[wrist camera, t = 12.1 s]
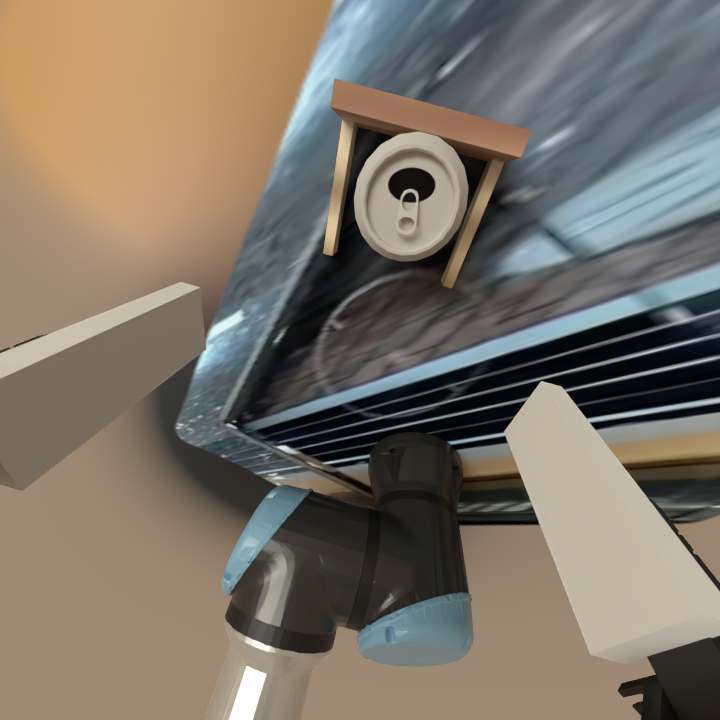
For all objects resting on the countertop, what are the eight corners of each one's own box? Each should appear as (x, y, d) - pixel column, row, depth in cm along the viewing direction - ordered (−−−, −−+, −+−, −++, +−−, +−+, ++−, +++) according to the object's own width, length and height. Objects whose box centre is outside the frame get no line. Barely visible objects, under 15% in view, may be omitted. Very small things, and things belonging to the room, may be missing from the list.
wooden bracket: (449, 283, 31) (457, 301, 26) (328, 249, 31) (311, 261, 26) (506, 143, 24) (532, 130, 19) (350, 102, 24) (334, 78, 19)
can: (458, 154, 25) (490, 129, 15) (440, 243, 29) (455, 272, 19) (375, 149, 26) (352, 122, 15) (368, 237, 29) (346, 261, 19)
